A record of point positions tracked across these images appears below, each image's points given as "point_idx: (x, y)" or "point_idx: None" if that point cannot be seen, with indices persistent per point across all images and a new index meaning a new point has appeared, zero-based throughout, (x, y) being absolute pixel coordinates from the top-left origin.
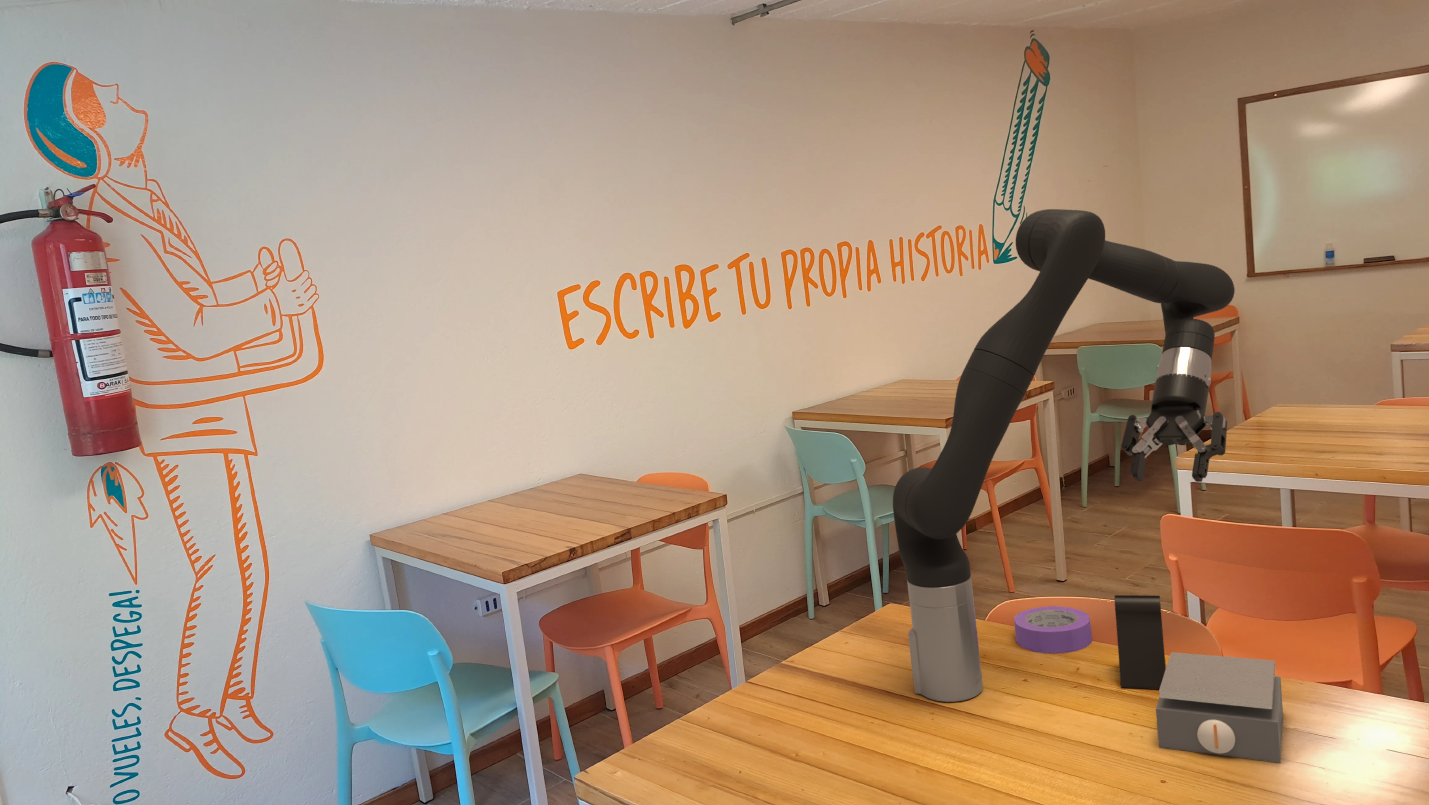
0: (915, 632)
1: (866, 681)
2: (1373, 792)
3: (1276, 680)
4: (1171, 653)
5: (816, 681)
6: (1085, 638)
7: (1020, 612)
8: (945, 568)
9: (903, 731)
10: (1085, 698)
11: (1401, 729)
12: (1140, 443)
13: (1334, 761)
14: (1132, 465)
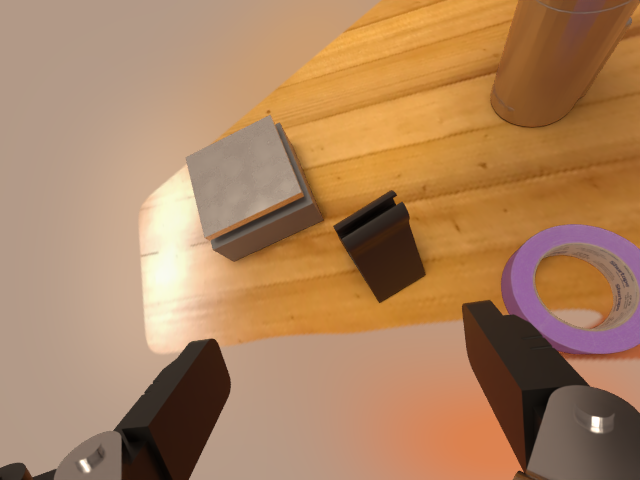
0: None
1: (636, 43)
2: (158, 189)
3: (213, 239)
4: (299, 189)
5: None
6: (505, 292)
7: None
8: None
9: (484, 21)
10: (396, 173)
11: (152, 293)
12: (602, 473)
13: (184, 211)
14: (537, 342)
